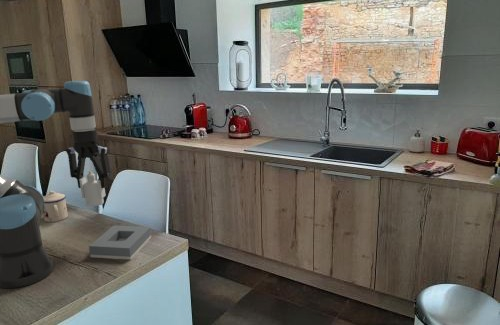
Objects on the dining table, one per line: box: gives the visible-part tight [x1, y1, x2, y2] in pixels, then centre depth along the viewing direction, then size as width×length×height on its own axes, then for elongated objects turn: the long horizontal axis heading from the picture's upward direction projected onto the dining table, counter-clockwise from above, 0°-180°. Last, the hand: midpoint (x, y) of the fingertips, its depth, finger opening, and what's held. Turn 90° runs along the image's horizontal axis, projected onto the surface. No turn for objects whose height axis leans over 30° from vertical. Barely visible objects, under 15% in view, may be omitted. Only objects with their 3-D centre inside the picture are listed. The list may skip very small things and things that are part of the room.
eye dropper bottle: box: [83, 170, 105, 207], centre depth 130 cm, size 4×6×12 cm
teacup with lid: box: [42, 190, 69, 223], centre depth 155 cm, size 12×9×12 cm
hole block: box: [88, 225, 152, 261], centre depth 130 cm, size 16×14×4 cm
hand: (94, 196), depth 131 cm, fingers closed on eye dropper bottle, 6 cm apart
